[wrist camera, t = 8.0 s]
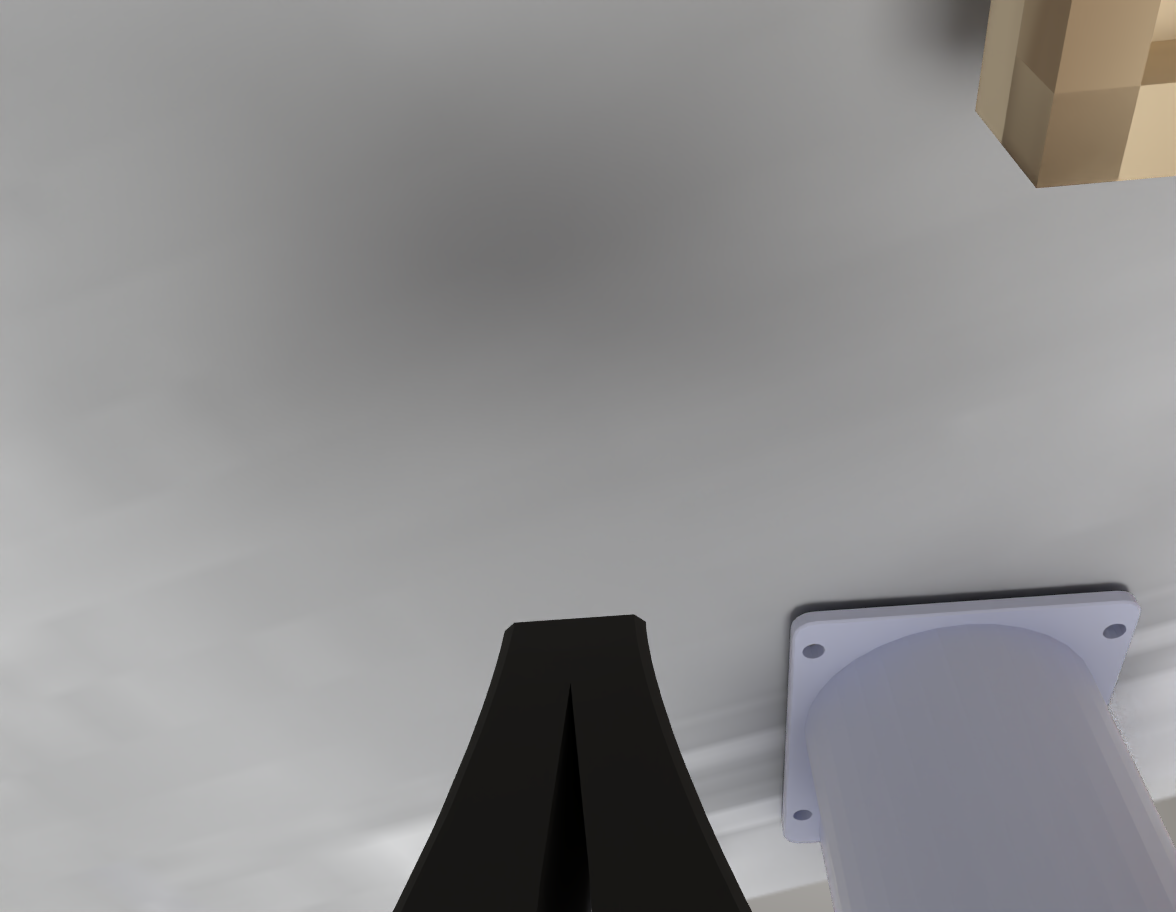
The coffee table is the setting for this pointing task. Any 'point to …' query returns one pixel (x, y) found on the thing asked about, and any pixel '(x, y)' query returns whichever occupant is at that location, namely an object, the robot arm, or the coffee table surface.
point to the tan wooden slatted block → (1082, 88)
